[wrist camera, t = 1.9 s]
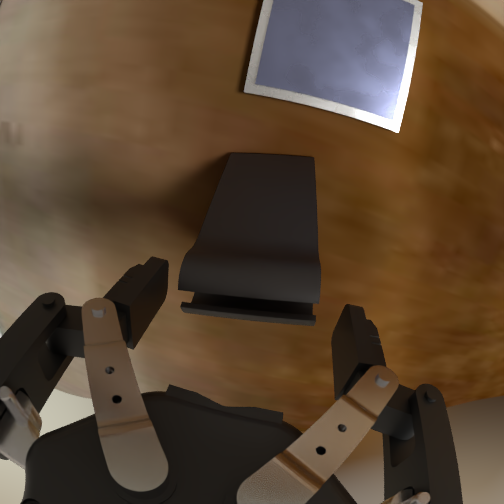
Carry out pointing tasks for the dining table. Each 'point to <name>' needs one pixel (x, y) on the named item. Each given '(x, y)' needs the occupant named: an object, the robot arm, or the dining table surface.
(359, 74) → the ink pad
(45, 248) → the dining table surface
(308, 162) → the phone stand
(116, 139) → the dining table surface
